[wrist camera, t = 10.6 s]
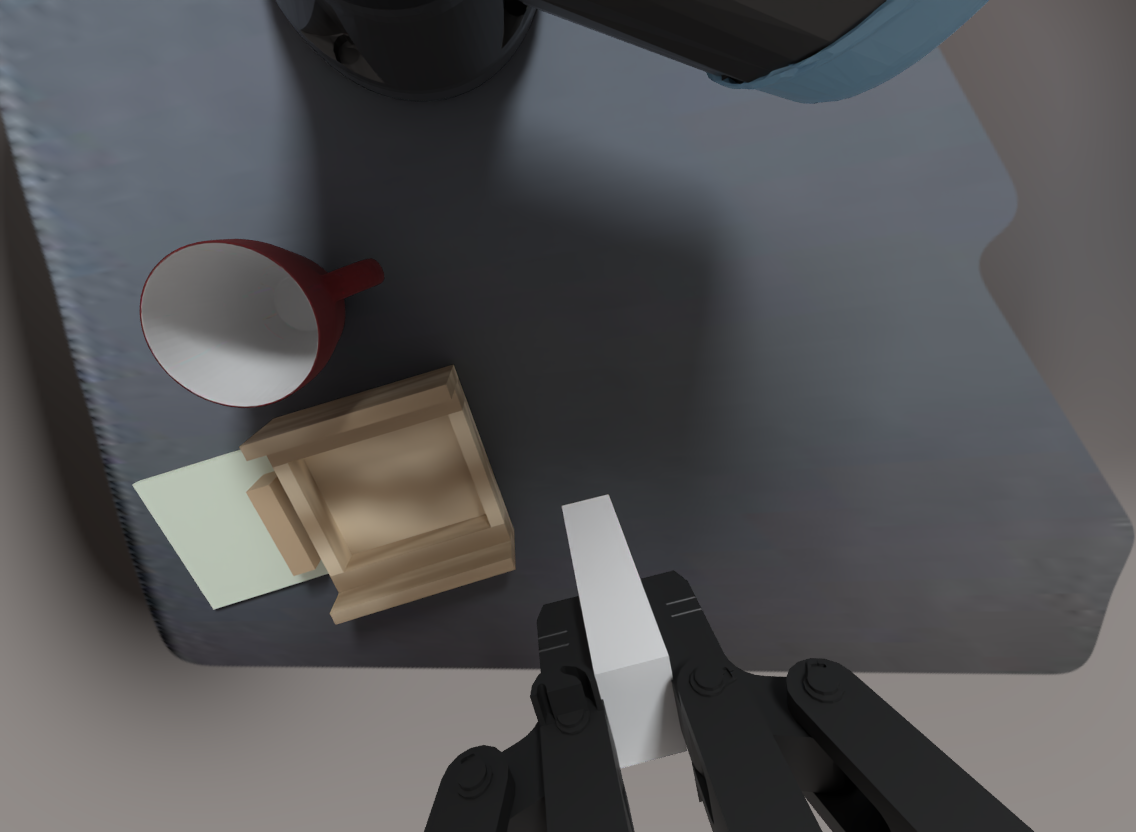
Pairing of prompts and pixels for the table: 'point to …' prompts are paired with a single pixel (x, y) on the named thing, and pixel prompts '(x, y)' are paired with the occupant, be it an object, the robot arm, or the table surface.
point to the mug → (246, 318)
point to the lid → (232, 527)
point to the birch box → (392, 491)
